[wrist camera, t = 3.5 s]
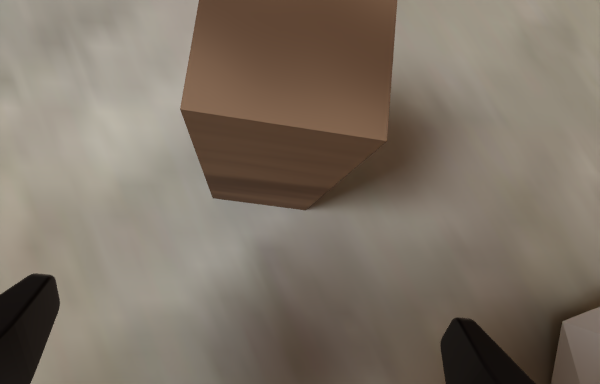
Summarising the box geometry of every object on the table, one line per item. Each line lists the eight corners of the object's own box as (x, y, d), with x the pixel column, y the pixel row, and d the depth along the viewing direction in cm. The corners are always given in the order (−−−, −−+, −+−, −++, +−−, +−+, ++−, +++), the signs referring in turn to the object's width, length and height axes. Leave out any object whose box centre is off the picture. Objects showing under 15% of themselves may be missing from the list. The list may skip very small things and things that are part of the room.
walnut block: (305, 210, 23) (386, 140, 10) (212, 198, 23) (180, 109, 10) (314, 123, 24) (400, -37, 11) (226, 109, 23) (212, -76, 11)
